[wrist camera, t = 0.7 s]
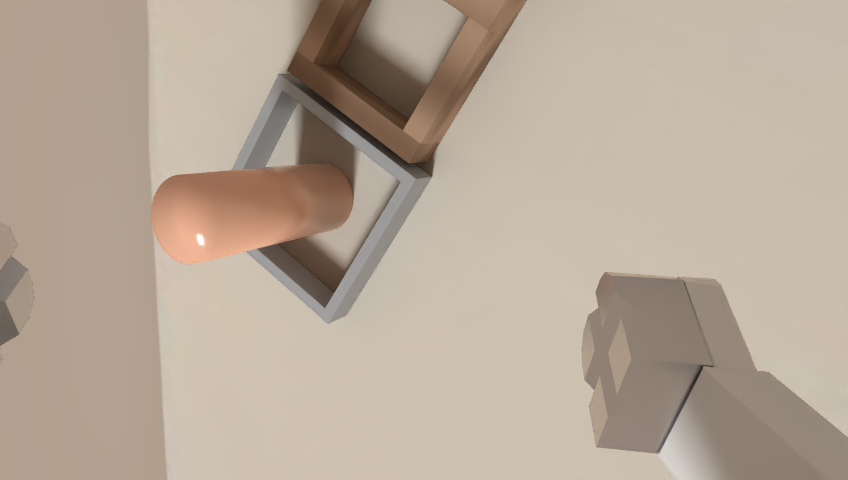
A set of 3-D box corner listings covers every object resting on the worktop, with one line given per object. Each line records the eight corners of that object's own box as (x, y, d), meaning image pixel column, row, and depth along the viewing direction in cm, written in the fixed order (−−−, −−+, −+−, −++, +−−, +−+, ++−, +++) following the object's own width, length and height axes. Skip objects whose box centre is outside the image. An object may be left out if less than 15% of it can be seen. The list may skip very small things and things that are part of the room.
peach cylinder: (314, 149, 51) (172, 156, 39) (364, 189, 50) (234, 210, 37) (285, 204, 53) (139, 228, 40) (332, 244, 52) (197, 282, 39)
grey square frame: (300, 76, 51) (279, 73, 48) (431, 176, 47) (416, 178, 45) (230, 215, 55) (208, 218, 53) (346, 315, 52) (327, 323, 50)
